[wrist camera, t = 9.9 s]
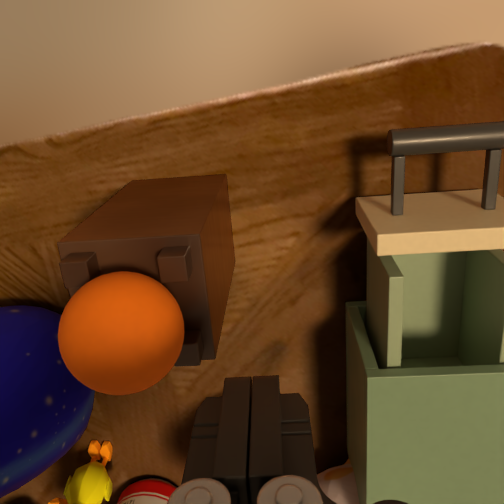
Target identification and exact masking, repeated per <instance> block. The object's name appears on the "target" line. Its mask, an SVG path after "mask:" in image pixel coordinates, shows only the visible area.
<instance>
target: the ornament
mask: <svg viewBox="0 0 504 504" xmlns="http://www.w3.org/2000/svg"><path fill="white" fill-rule="evenodd" d="M60 319H61V315H60V314H58V313H56V312H54V311H51V310H48V309H45V308H42V307H34V306H25V305H21V306H5V307H0V498H1V497H3V496H5V495H7V494H9V493H10V492H12V491H14V490H16V489H18V488H20V487H21V486H23V485H24V484H26V483H27V482H29V481H30V480H32V479H34V478H35V477H37V476H38V475H39V474H41V473H42V472H43V471H45V470H46V469H47V468H48V467H50V466H51V465H52V464H53V463H55V462H56V461H57V460H59V459H60V458H61V457H62V456H64V455H65V454H66V453H67V452H68V451H69V449H70V448H71V447H72V446H73V445H74V444H75V443H76V442H77V441H78V440H79V439H80V438H81V436H82V434H83V433H84V431H85V429H86V427H87V424H88V421H89V418H90V415H91V412H92V408H93V401H94V394H95V390H92V389H90V388H88V387H87V386H85V385H84V384H82V383H81V382H80V381H78V380H77V379H76V378H75V377H74V376H73V375H72V374H71V372H70V371H69V370H68V368H67V367H66V365H65V363H64V361H63V359H62V356H61V353H60V349H59V343H58V329H59V322H60Z"/></svg>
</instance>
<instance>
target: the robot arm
mask: <svg viewBox="0 0 504 504" xmlns="http://www.w3.org/2000/svg"><path fill="white" fill-rule="evenodd" d="M167 504H337V503H335V502H334V501H332V500H331V499H330V498H328V497H327V496H326V495H325V494H324V492H323V491H322V489H321V488H320V486H319V483H318V479H317V472H316V464H315V456H314V448H313V441H312V434H311V425H310V417H309V409H308V405H307V403H306V402H305V401H304V399H303V398H302V397H301V395H300V394H299V393H292V394H280V389H279V375H275V376H253V384H252V379H251V377H233V378H225V381H224V388H223V395H222V397H206V399H205V400H204V401H203V402H202V404H201V405H200V406H199V408H198V409H197V410H196V415H195V420H194V427H193V430H192V435H191V440H190V445H189V450H188V454H187V459H186V464H185V469H184V474H183V479H182V484H181V485H180V486H179V487H178V488H177V489H175V491H174V492H173V493H172V494H171V496H170V497H169V500H168V502H167ZM373 504H408V503H405V502H402V501H398V500H382V501H378V502H375V503H373Z"/></svg>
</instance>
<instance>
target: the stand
mask: <svg viewBox="0 0 504 504" xmlns="http://www.w3.org/2000/svg"><path fill="white" fill-rule="evenodd" d="M57 245H58V249H59V253H60V257H61V262H60V263H59V265H60V269H61V273H62V277H63V281H64V285H65V288H68V290H69V295H70V299H71V297H72V296H73V295H74V294H75V293H76V292H77V290H79V289H80V288H81V287H82V286H83V285H85V284H86V283H87V282H89V281H91V280H93V279H94V278H96V277H99V276H101V275H104V274H108V273H112V272H120V271H128V272H135V273H140V274H143V275H146V276H149V277H151V278H153V279H155V280H156V281H158V282H159V283H161V284H162V285H163V286H164V287H166V288H167V289H168V291H169V292H170V293H171V294H172V295H173V297H174V298H175V299H176V301H177V303H178V305H179V307H180V310H181V312H182V316H183V320H184V341H183V345H182V350H181V352H180V355H179V357H178V359H177V361H176V363H175V364H174V365H175V366H198V365H200V363H201V360H210V359H215V358H216V353H217V349H218V344H219V339H220V334H221V329H222V324H223V319H224V314H225V310H226V305H227V300H228V295H229V290H230V285H231V280H232V275H233V271H234V266H235V256H234V246H233V236H232V226H231V216H230V206H229V196H228V186H227V176H226V174H220V175H206V176H192V177H177V178H163V179H148V180H134V181H131V182H130V183H129V184H128V185H126V186H125V187H124V188H123V189H122V190H120V191H119V192H118V193H117V194H116V195H114V196H113V197H112V198H111V199H110V200H108V201H107V202H106V203H105V204H103V205H102V206H101V207H100V208H99V209H97V210H96V211H95V212H94V213H93V214H91V215H90V216H89V217H88V218H87V219H85V220H84V221H83V222H82V223H81V224H79V225H78V226H77V227H76V228H75V229H73V230H72V231H71V232H70V233H68V234H67V235H66V236H65V237H64V238H62V239H61V240H60V241H59V242H58V243H57Z"/></svg>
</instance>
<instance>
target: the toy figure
mask: <svg viewBox="0 0 504 504" xmlns="http://www.w3.org/2000/svg"><path fill="white" fill-rule="evenodd" d="M112 451H113V448H112V445H111V443H110V441H104V442H103V444H102V447H101V445H100V444H99V442H98V441H97V440H92V441H91V442H90V445H89V449H88V453H89V455H90V456H91V458H92V459H91V461H90V463H88V464H86V465H83V466H81V467H79V468H77V469H76V471H75V473H74V475H73V477H72V478H71V476H69V478H68V481H67V484H66V487H65V490H64V493H63V494H64V495H65V497H66V499H67V500H66V499H61V498H55V499H53V500H51V501H50V502H48V504H101V502H102V500H103V498H104V497H105V499H106V501H109V500H110V496H111V494H112V482H111V480H110V477H109V476H108V473H107V471H106V469H105V466H106V464H107V461H110V460H111V456H112ZM101 457H102V458H103V461H102V463H99V462H96V460H100V458H101Z"/></svg>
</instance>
